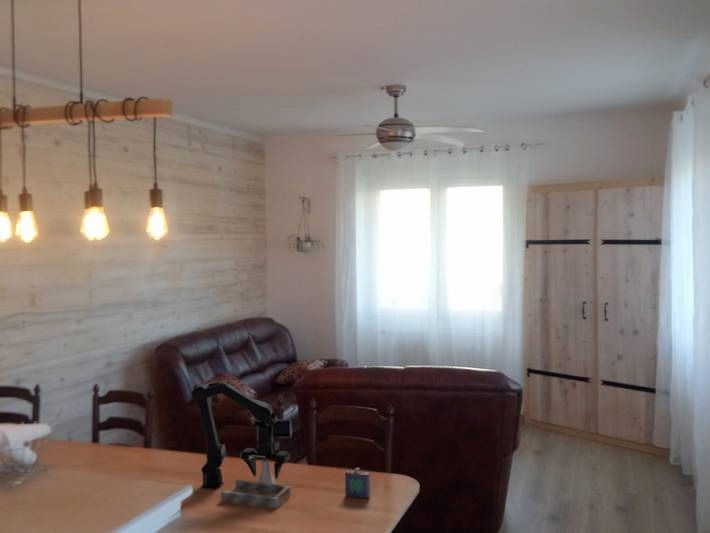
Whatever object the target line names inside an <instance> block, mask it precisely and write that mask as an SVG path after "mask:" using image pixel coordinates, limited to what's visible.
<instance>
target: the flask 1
mask: <svg viewBox="0 0 710 533" xmlns="http://www.w3.org/2000/svg"><path fill="white" fill-rule="evenodd" d="M270 459H271V458H262V459H261V466H262V467H261V471H260V474H259V478H258V481H257V482H259V483H267V484H276V482H275V479H274V477H273V474H272V472H271V468H270V461H271V460H270Z"/></svg>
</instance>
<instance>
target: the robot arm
mask: <svg viewBox="0 0 710 533" xmlns="http://www.w3.org/2000/svg"><path fill="white" fill-rule="evenodd" d="M220 394H222V395H224V396H225V397H227V398H229V399H230V400H231V401H233V402H235V403H236V404H238V405H240V406H242V407H243V408H245V409H246V410H247V411H249V413H250V415H252V416H253V417H254V418H255V420H254V422H253V423H252V425H251V427H252V428H256V436H257V437H256V439H257V440H256V441H255V445H257V449H256V448H254V447H253V448H252V447H246V448H245V449H243V450H242V451H241V452H240V460H243V462H245V464H246V465H247V466H248V468H249V469H250V471H251V473H252V475H253V477H256V476H257V458H262V459H273V460H274V461H275V462H274V463H273V468H274V478H275V480H278V479H279V475H280V473H281V472H280V471H281V469H282V466H283V465H284V464H285V463H287V462H288V461H290V460H291V453H290V452H289V451H285V450H284V451H283V450H280V441H275V438H279V439H280V438H292V435H293V425H292V419H291V418H286V419H279V417H278V415H276V413H275V412H274V410H273V406H272V405H271V404H270V403H267V402H265V401H262V400H259V399H255V398H253V397H252V396H249V395H248V394H247V393H245V392H243V391H241V390H240V389H238V388H237V387H235V386H233V385H231V384H230V383H229V382H228V381H226V380H222V381H219V382H212V383H208V384H207V383H206V382H204V383H203V382H202V383H200V384H198V385H197V386H196V387H195V388H193V390H192V392H191V397H192V399H193V400H192V401H193V402H194V404H195V406H196V407H197V409H198V410H199V414H200V419H201V423H202V427H203V431H204V436H205V442H206V444H207V446H206V447H207V448H206V462H205V463H204V464H203V466H201V469H200V471H201V472H202V484H201V486H200V488H201V489H206V490H207V489H209V490H217V489H218V488H219V487H220V486H222V485H224V482H223V473H222V469H221V466H222V465H223V463H224V462H225V461H226V458H227V454H228V452H227V450H226V445H225V443H223V444H221V442H220V441H219V438H218V437H219V436H218V433H217V428H216V423H215V418H214V414H213V410H212V397H214V396H217V395H220ZM273 436H274V437H273ZM276 451H278V452H277V453H275V452H276Z"/></svg>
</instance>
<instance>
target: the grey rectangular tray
mask: <svg viewBox="0 0 710 533" xmlns="http://www.w3.org/2000/svg"><path fill="white" fill-rule="evenodd" d="M234 484H235V487H234V488H233V489H232V490H231V491H230V490H229V491H228V490H222V491H221V492H220V499H221V500H220V502H222V503H228V504H237V505H243V506H253V507H260V508H265V509H266V508H267V509H275V510H277V509H278V508H279V507H281V505H283V503H285V502H286V501H287V500H288V499H289V498H290V497H291V496H292V494H291V486H290V485H283V484H276V483H275V484H267V483H259V482H258V481H248V480H241V479H240V480H239V479H237V480H235V483H234Z"/></svg>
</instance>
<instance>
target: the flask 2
mask: <svg viewBox="0 0 710 533" xmlns="http://www.w3.org/2000/svg"><path fill="white" fill-rule="evenodd" d="M344 474H345V476H344V477H345V478H344V479H345V483H344V484H345V487H344V488H345V489H344V490H345V497H347V498H351V499H364V500H366V499H370V498H371V487H370V486H371V484H370V481H371V479H370V477H371V476H370V474H371V473H369V472H367V471H366V472H363V471H361V472H360V467H355V470H352V469H349V470H346V471H345V473H344Z"/></svg>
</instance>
